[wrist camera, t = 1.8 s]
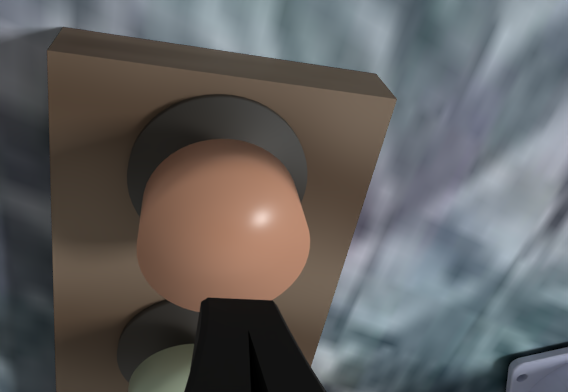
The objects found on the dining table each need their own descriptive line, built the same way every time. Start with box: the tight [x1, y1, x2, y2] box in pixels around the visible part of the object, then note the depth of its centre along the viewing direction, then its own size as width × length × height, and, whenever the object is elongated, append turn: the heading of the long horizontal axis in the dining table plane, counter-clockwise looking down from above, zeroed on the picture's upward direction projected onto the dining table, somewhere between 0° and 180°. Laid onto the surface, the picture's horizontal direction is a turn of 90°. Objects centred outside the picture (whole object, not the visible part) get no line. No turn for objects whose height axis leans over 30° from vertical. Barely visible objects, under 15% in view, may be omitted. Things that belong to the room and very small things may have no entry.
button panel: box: [47, 27, 397, 392], centre depth 20 cm, size 20×9×2 cm, turn 169°
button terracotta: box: [137, 139, 310, 312], centre depth 13 cm, size 4×4×2 cm
